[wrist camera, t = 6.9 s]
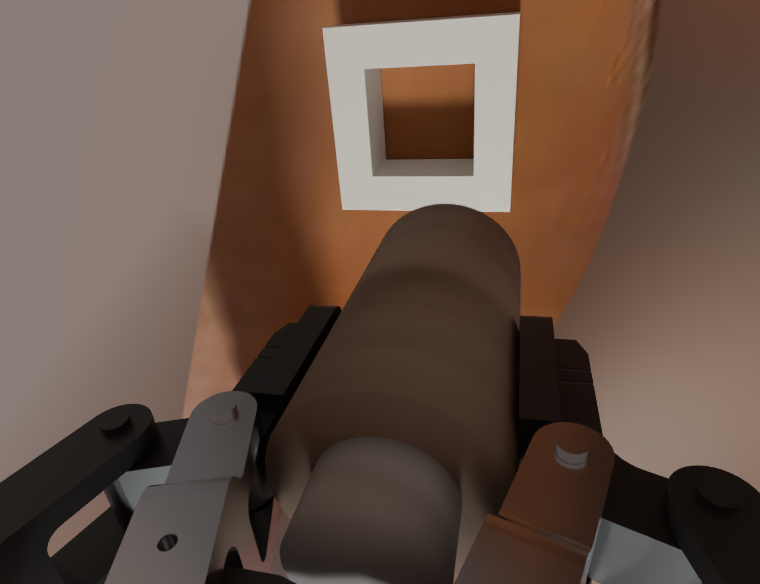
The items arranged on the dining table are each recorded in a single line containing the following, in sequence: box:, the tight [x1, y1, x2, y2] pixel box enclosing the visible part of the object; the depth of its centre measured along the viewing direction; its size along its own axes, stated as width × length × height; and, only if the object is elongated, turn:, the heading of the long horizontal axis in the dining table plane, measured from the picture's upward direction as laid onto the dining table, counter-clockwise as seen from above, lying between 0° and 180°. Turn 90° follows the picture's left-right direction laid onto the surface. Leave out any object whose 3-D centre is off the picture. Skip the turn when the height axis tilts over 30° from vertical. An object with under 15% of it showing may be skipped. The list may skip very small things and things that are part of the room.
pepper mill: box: [265, 204, 521, 584], centre depth 12 cm, size 4×4×10 cm
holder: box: [322, 12, 520, 212], centre depth 29 cm, size 10×10×4 cm
